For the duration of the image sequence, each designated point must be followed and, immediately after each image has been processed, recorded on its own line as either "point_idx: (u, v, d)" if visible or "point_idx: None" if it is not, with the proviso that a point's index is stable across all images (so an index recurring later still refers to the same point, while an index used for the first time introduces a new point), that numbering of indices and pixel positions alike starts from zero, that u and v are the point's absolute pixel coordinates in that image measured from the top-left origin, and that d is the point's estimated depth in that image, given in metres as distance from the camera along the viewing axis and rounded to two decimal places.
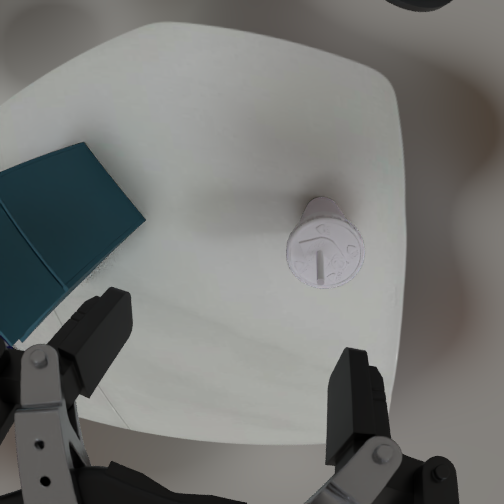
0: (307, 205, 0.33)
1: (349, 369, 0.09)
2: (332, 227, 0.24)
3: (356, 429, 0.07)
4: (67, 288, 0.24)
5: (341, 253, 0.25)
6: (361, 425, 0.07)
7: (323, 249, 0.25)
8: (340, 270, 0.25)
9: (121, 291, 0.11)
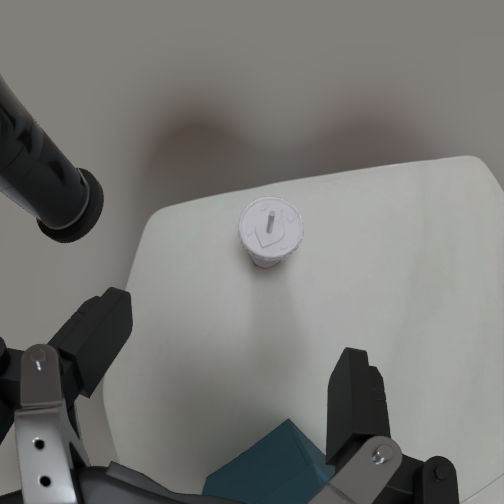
0: (258, 265, 0.39)
1: (349, 369, 0.09)
2: (246, 224, 0.31)
3: (356, 429, 0.07)
4: None
5: (267, 214, 0.31)
6: (361, 425, 0.07)
7: (265, 227, 0.31)
8: (283, 212, 0.31)
9: (121, 291, 0.11)
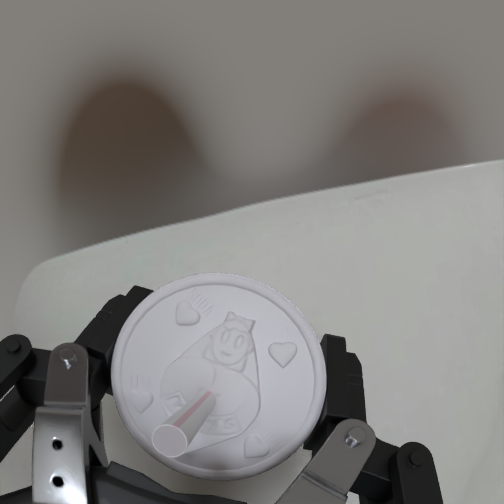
0: None
1: (326, 354, 0.10)
2: (132, 371, 0.08)
3: (330, 411, 0.08)
4: None
5: (199, 339, 0.09)
6: (335, 407, 0.08)
7: (191, 391, 0.08)
8: (256, 332, 0.09)
9: (146, 289, 0.11)
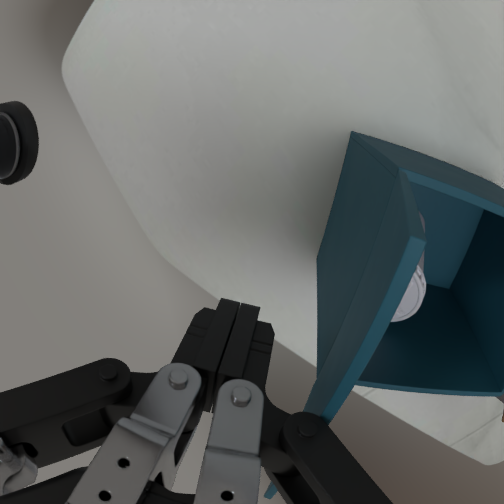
0: None
1: (235, 320, 0.11)
2: None
3: (222, 370, 0.09)
4: None
5: None
6: (228, 368, 0.09)
7: None
8: None
9: (234, 302, 0.11)
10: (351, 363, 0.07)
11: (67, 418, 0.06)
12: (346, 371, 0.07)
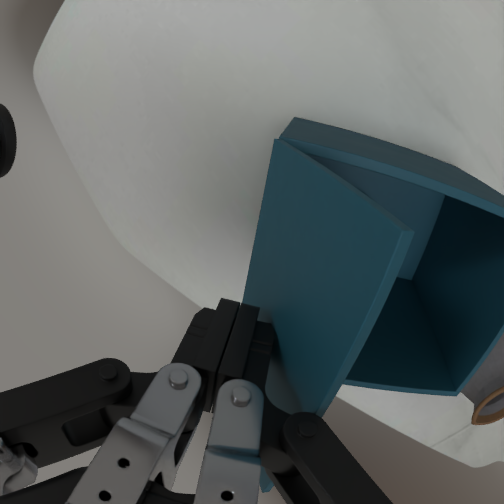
0: None
1: (235, 320, 0.11)
2: None
3: (222, 370, 0.09)
4: None
5: None
6: (228, 368, 0.09)
7: None
8: None
9: (234, 302, 0.11)
10: (346, 356, 0.07)
11: (67, 418, 0.06)
12: (341, 364, 0.07)
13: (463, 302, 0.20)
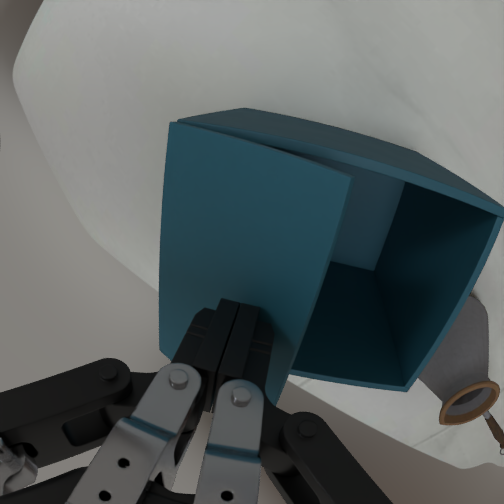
0: None
1: (235, 320, 0.11)
2: None
3: (222, 370, 0.09)
4: None
5: None
6: (228, 368, 0.09)
7: None
8: None
9: (234, 302, 0.11)
10: (321, 275, 0.10)
11: (67, 418, 0.06)
12: (317, 283, 0.10)
13: (415, 291, 0.20)
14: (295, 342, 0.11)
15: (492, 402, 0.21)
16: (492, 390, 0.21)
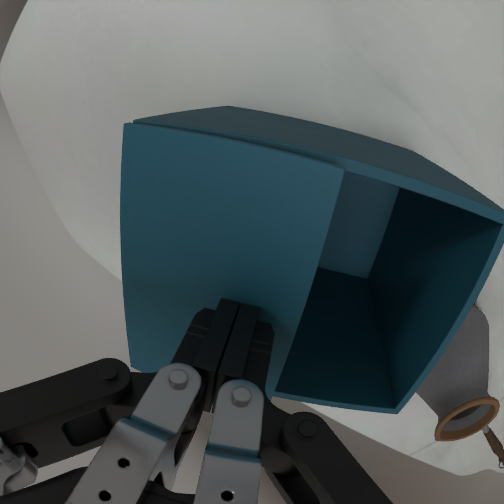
0: None
1: (235, 320, 0.11)
2: None
3: (222, 370, 0.09)
4: None
5: None
6: (228, 368, 0.09)
7: None
8: None
9: (234, 302, 0.11)
10: (317, 263, 0.10)
11: (67, 418, 0.06)
12: (314, 270, 0.10)
13: (410, 304, 0.18)
14: (293, 329, 0.12)
15: (491, 418, 0.19)
16: (491, 405, 0.19)
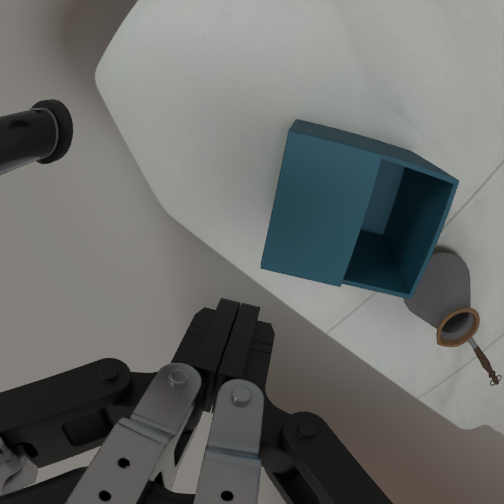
0: None
1: (235, 320, 0.11)
2: None
3: (222, 370, 0.09)
4: None
5: None
6: (228, 368, 0.09)
7: None
8: None
9: (234, 302, 0.11)
10: (372, 190, 0.25)
11: (67, 418, 0.06)
12: None
13: (412, 237, 0.32)
14: (361, 222, 0.27)
15: (475, 328, 0.33)
16: (474, 318, 0.33)
